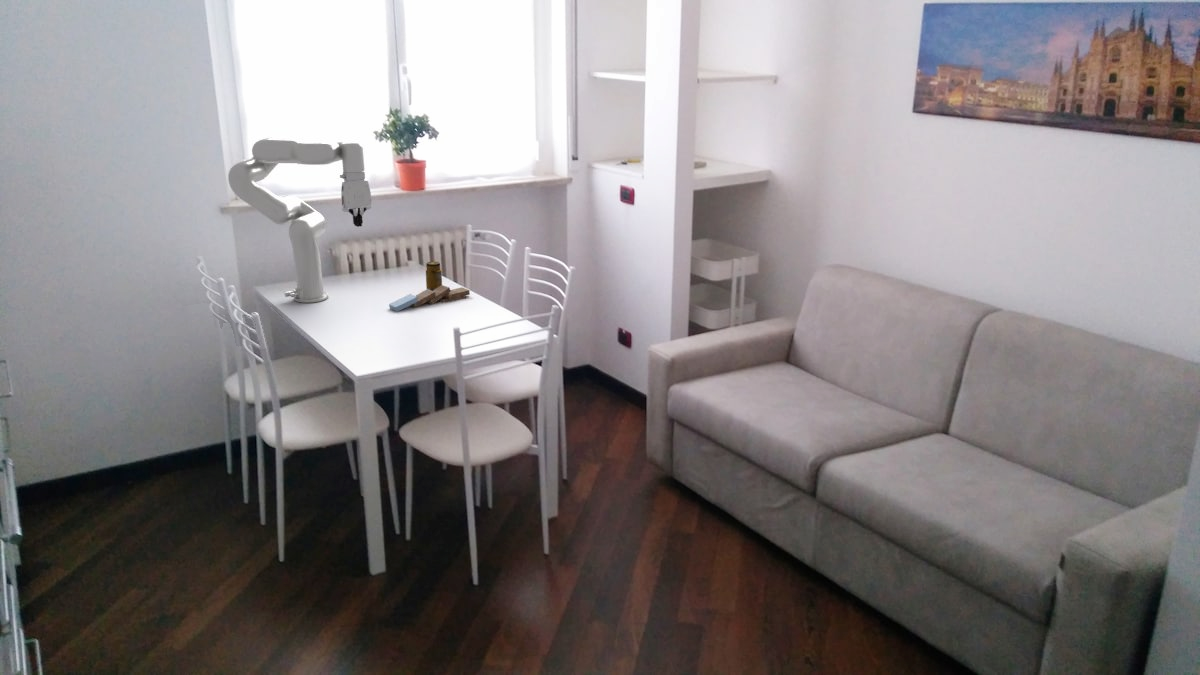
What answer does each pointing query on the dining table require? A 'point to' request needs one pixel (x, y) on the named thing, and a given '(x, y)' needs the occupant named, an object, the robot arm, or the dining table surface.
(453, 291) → the domino
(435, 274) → the condiment
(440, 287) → the domino
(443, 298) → the domino
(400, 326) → the dining table surface
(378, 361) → the dining table surface
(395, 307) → the domino
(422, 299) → the domino
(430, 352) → the dining table surface
